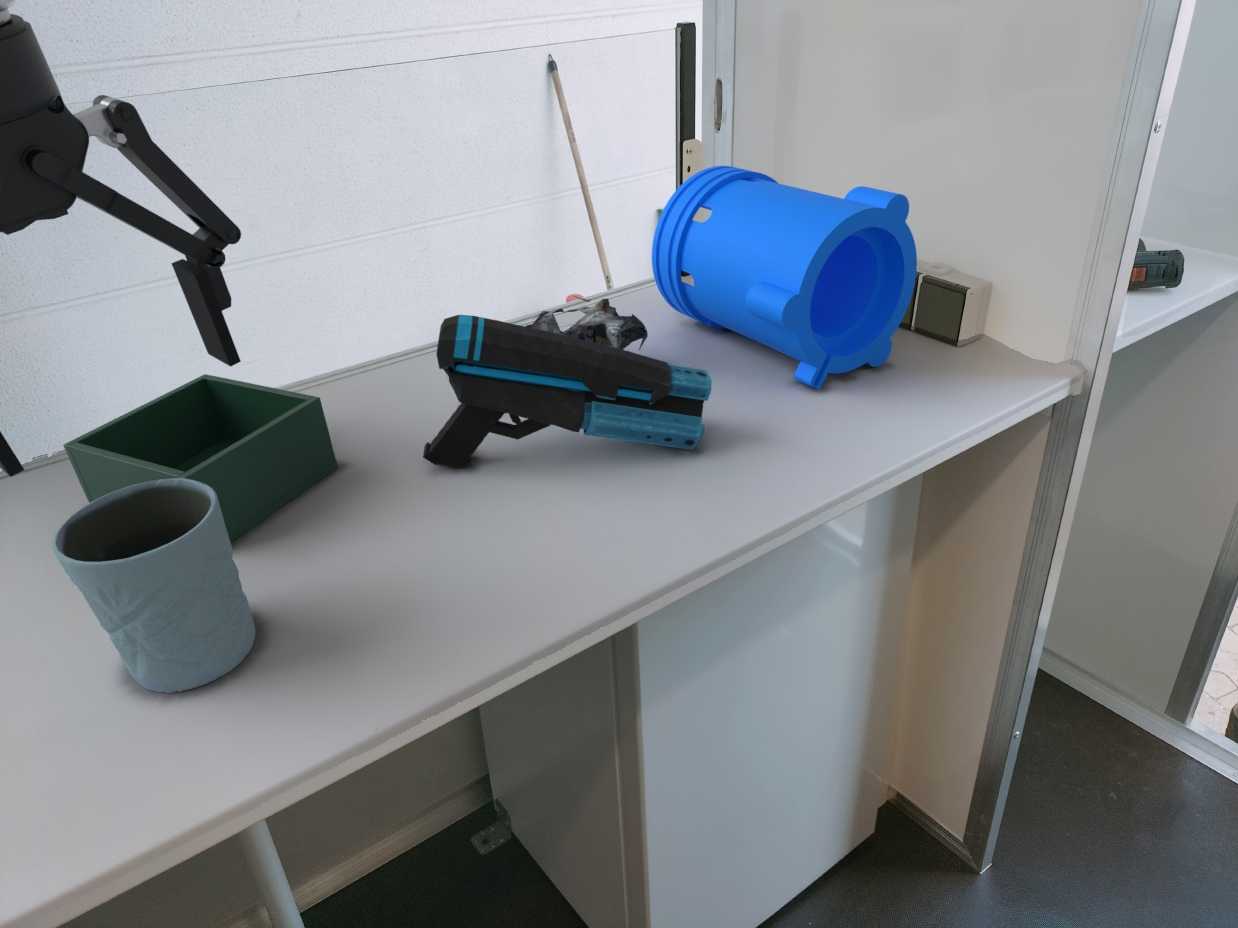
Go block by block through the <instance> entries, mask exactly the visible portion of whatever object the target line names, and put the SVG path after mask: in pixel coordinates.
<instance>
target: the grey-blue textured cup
mask: <svg viewBox="0 0 1238 928" xmlns="http://www.w3.org/2000/svg"><path fill="white" fill-rule="evenodd" d="M51 547H52V551H53V555H54V556H55V557H56V559H57V560H58V562H59V563H60V565H61V567H62V568H63V570H64V571H65V573H66V574H67V576H68V577H69V579H70V581H71V582H72V583H73V584H74V585H75V587H76V588H77V589H78V590H79V592H80V593H81V595H82V596H83V597H84V599H85V601H86V602H87V605H88V606H89V608H90V609H91V611H92V613H93V614H94V616H95V617H96V619H97V621H98V622H99V624H100V626H101V628H102V629H103V630H104V631H105V632H106V633H107V635H108V636H109V640H110V641H111V643H112V644H113V646H114V647H115V649H116V650H117V653H118V654H119V657H120V659H121V661H122V662H123V664H124V665H125V667H126V670H127V671H128V672H129V674H130V675H131V677H132V678H133V679H134V680H135V681H136V682H137V684H138V685H139V686H141V687H142V688H144V689H145V690H147V691H150V692H155V693H166V694H173V693H176V692H179V693H182V692H184V691H190V690H192V689H196V688H198V687H201V686H204V685H208V684H209V683H211V682H213V681H216V680H218V678H221V677H224V676H225V675H227V674H228V673H229V672H231V671H233V670H234V669H235V668H236V667H237V666H239V664H240V663H242V661H243V660H244V659H245V658H246V657H247V655H248V654H250V652H251V650H252V648H253V646H254V643H255V640H256V626H255V625H256V624H255V621H254V618H253V613H252V611H251V606H250V603H249V600H248V597H247V596H246V594H245V592H244V591H243V587H242V583H241V580H240V574H239V572H240V571H239V569H238V567H237V565H236V562H235V561H234V559H233V546H232V542H231V543H230V540H229V536H228V533H227V530H226V526H225V523H224V519H223V516H222V512H221V508H220V505H219V501H218V498H217V494H216V493H215V491H214V490H213V489H212V488H211V487H210V486H208V485H206V484H204V483H201V482H198V481H195V480H190V479H185V478H173V479H161V480H154V481H149V482H144V483H139V484H135V485H132V486H128V487H125V488H123V489H120V490H117V491H114V492H112V493H110V494H107V495H105V496H102V497H100V498H98V499H96V500H94V501H92V502H91V503H89V502H88V503H87V504H86V505H84V506H81V508H79V509H78V510H77V511H75V512H74V513H72V514H71V515H70V516H69V517H68V518H67V519H66V520H65V521H64V522H62V523H61V524H60V525H59V527H58V529H57V530H56V531H55V533H54V536H53V538H52V546H51Z"/></svg>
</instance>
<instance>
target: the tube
mask: <svg viewBox="0 0 1238 928" xmlns="http://www.w3.org/2000/svg"><path fill="white" fill-rule="evenodd" d="M700 208H702V209H706V210H709V211H711V214H710V215H709V217H708V218H707V219H706V220H705V221H703V222H700V221H697V220H695V219H694V218H695V216H696V214H697V213H698V211H699V210H700ZM909 213H910V201H909V199H908V197H907V195H904V194H901V193H897V192H894V191H893V192H892V191H888V190H883V189H877V188H873V187H869V186H865V185H864V186H863V185H860V186H856V187H853V188H852V189H850V190H849V191H848V192H847V193H846V194H845V196H844V198H843V197H839V196H833V195H829V194H825V193H820V192H817V191H812V190H808V189H804V188H799V187H796V186H791V185H786V184H783V183H779V182H778V181H777V180H775V179H774V178H773V177H771V176H769V175H767V174H765V173H762V172H758V171H752V170H749V169H745V168H740V167H737V166H731V165H714V166H711V167H707V168H705V169H702V170H699V171H698V172H696V173H694V174H693V175H691V176H690V177H689V178H687V179H686V180H685V181H684V182H683V183H681V184H680V185H679V187H678V188H677V189H676V190H675V191H674V192H673V194H672V195H671V196H670V197H669V199H668V200H667V203H666V204H665V205H664V207H663V210H662V211H661V213H660V216H659V218H658V220H657V224H656V227H655V230H654V234H653V240H652V247H651V267H652V273H653V277H654V281H655V284H656V287H657V289H658V291H659V293H660V295H661V296H662V298H663V299H664V301H665V302H666V303H667V304H668V305H669V306H670V307H671V308H672V309H673V310H675V311H677V312H678V313H680V314H681V315H685V316H687V317H688V318H690V319H693V320H695V321H698V322H699V323H701V324H704V325H706V326H709V327H712V328H716V329H728V330H731V331H732V332H735V333H737V334H739V335H742V336H744V337H746V338H748V339H751V340H753V341H755V342H757V343H759V344H762V345H763V346H765V347H768V348H770V349H772V350H775V351H777V352H779V353H781V354H784V355H786V356H788V357H790V358H793V359H795V360H797V361H799V364H798V366H797V368H796V370H795V372H794V375H793V378H794V379H795V381H799V382H801V383H802V384H805V385H806V386H808V387H810V388H813V389H816V390H819V389H821V388H822V387H823V385H824V382H825V380H826V378H827V376H828V374H843V373H847V372H848V373H849V372H851V371H854V370H856V369H858V368H860V367H862V366H864V365H865V364H866V365H868V366H871V367H872V368H878V367H880V366H882V365H883V364H884V363H885V362H886V361H887V360H888V358H889V356H890V355H891V351H892V349H893V348H892V347H893V341H892V337H893V336H894V334H895V333H896V332H897V330H898V328H899V326H900V325H901V323H902V322H903V319H904V317H905V315H906V312H907V310H908V308H909V305H910V303H911V299H912V297H913V294H914V293H913V292H914V288H915V284H916V278H917V270H918V256H917V246H916V242H915V239H914V235H913V233H912V230H911V228H910V227H909V225H908V223H907V222H906V221H907V219H908V218H909V217H908V216H909ZM681 271H682V272H685V273H687V274H689V275H690V276H691V278H692V280H693V281H692V282H693V285H692V284H690V283H688V282H685V281H683V280H682V272H681Z"/></svg>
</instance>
